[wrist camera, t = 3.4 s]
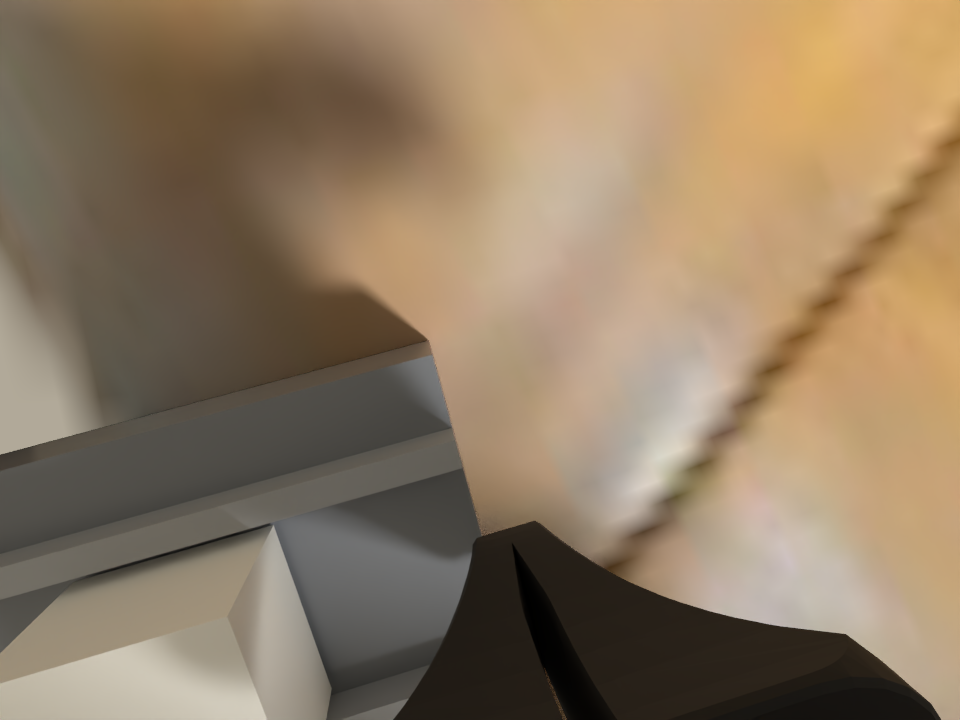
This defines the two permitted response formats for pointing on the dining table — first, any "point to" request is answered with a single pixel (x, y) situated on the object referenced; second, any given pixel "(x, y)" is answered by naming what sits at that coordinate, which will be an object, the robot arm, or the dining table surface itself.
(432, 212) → the dining table surface
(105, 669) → the switch tab
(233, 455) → the switch board
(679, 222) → the dining table surface
